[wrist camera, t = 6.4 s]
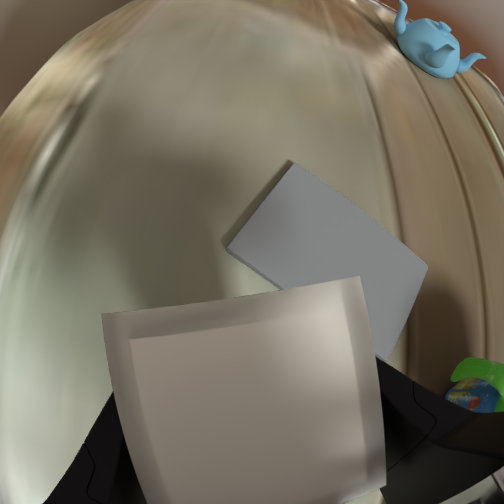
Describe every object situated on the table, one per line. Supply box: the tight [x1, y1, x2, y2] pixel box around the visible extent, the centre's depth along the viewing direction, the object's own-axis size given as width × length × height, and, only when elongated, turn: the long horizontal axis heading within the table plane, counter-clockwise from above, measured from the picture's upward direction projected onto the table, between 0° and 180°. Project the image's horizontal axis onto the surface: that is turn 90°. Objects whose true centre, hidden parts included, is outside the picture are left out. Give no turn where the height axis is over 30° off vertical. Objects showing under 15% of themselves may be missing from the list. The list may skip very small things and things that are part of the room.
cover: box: [102, 276, 386, 504], centre depth 10 cm, size 6×6×10 cm
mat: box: [226, 162, 428, 361], centre depth 23 cm, size 16×10×1 cm, turn 55°
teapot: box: [394, 0, 486, 78], centre depth 33 cm, size 15×15×10 cm
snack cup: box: [445, 357, 504, 413], centre depth 16 cm, size 16×10×10 cm
